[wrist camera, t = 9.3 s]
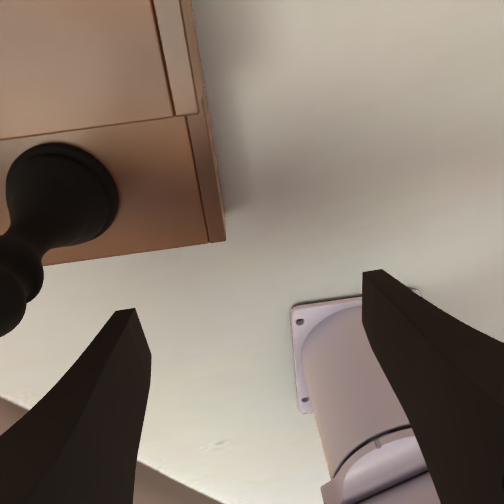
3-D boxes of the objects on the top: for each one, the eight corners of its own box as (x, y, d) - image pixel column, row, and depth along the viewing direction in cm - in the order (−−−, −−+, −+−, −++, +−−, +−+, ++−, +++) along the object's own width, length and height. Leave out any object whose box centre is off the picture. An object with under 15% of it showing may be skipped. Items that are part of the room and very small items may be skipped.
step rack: (224, 214, 22) (229, 284, 16) (-22, 248, 22) (-103, 330, 16) (182, -53, 16) (166, -89, 10) (-155, -10, 16) (-356, -23, 10)
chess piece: (11, 128, 16) (-224, 263, 7) (127, 159, 17) (39, 311, 8) (6, 226, 18) (-183, 423, 9) (110, 250, 19) (26, 447, 10)
